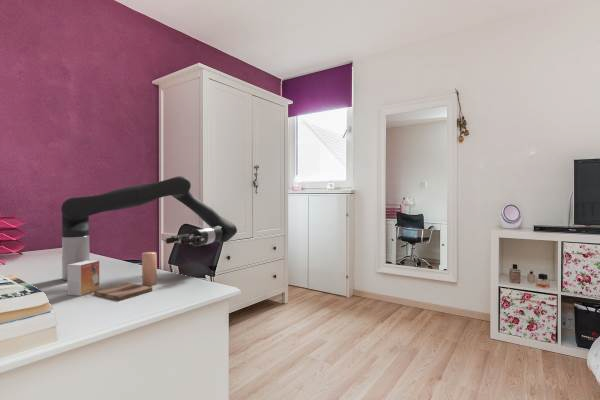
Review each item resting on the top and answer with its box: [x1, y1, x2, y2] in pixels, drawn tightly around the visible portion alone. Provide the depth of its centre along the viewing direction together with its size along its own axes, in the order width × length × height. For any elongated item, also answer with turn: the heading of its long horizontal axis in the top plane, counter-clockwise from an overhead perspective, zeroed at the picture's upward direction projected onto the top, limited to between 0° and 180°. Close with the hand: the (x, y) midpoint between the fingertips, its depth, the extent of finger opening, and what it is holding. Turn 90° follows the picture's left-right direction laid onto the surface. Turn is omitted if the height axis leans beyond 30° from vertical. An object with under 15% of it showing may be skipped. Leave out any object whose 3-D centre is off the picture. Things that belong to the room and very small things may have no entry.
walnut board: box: [93, 282, 153, 302], centre depth 112 cm, size 14×12×1 cm
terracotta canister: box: [141, 251, 158, 287], centre depth 122 cm, size 5×5×12 cm
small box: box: [67, 260, 100, 297], centre depth 113 cm, size 8×6×10 cm
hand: (173, 241), depth 132 cm, fingers open, 8 cm apart
